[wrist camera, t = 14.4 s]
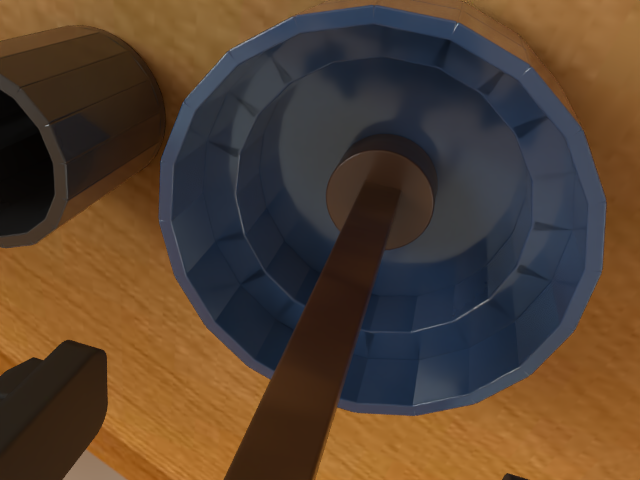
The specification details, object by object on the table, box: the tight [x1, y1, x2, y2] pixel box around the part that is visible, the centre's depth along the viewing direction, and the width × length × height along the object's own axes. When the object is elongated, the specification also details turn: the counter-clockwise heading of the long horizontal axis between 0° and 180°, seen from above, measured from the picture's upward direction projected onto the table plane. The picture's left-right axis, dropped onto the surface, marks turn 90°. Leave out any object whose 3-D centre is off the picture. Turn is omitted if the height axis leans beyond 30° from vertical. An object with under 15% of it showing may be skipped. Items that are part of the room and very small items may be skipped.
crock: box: [0, 25, 165, 248], centre depth 23 cm, size 7×7×7 cm
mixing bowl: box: [159, 0, 607, 416], centre depth 21 cm, size 14×14×6 cm
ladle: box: [224, 134, 438, 480], centre depth 16 cm, size 4×4×16 cm
